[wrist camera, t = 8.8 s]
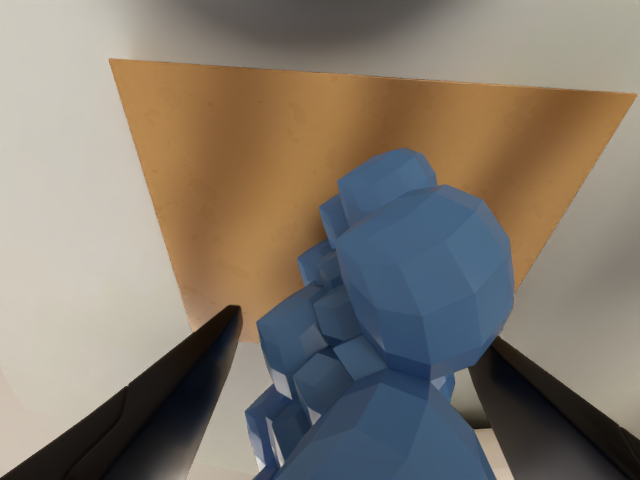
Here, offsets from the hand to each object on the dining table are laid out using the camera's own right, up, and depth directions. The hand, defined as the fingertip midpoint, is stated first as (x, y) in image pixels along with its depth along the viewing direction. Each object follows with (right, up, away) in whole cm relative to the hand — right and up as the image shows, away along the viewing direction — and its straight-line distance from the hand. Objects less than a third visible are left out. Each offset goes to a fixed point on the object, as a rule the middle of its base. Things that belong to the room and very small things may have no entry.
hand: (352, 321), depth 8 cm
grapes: (0, +2, +4) cm, 5 cm away
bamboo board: (0, +3, +5) cm, 6 cm away
